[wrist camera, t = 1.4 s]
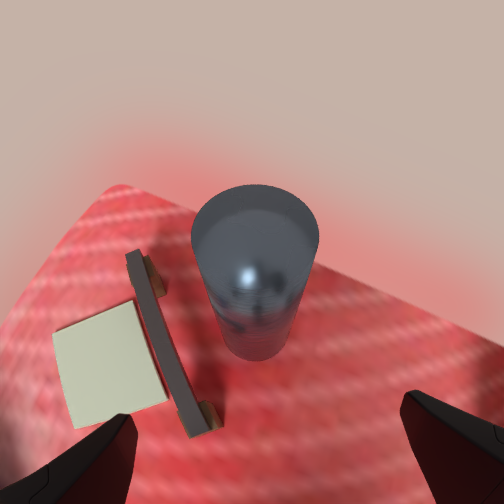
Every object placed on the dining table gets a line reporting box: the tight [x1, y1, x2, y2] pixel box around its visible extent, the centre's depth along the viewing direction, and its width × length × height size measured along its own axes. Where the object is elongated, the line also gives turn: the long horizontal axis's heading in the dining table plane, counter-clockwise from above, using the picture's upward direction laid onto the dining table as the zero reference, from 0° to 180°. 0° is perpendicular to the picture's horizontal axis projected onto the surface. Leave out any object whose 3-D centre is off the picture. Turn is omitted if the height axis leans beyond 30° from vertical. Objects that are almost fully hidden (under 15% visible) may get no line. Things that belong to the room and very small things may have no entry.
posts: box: [126, 255, 224, 439], centre depth 20 cm, size 14×2×4 cm, turn 26°
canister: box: [191, 185, 319, 361], centre depth 17 cm, size 5×5×13 cm
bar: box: [125, 249, 212, 438], centre depth 19 cm, size 14×1×1 cm, turn 26°
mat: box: [52, 300, 169, 429], centre depth 21 cm, size 9×9×1 cm
